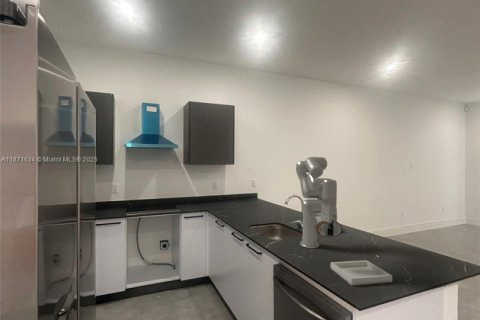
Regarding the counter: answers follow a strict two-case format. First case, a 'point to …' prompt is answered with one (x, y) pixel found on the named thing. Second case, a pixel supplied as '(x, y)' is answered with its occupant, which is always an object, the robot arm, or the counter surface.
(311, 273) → the counter surface
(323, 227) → the tin
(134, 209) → the counter surface
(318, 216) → the bowl
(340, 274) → the white tray
